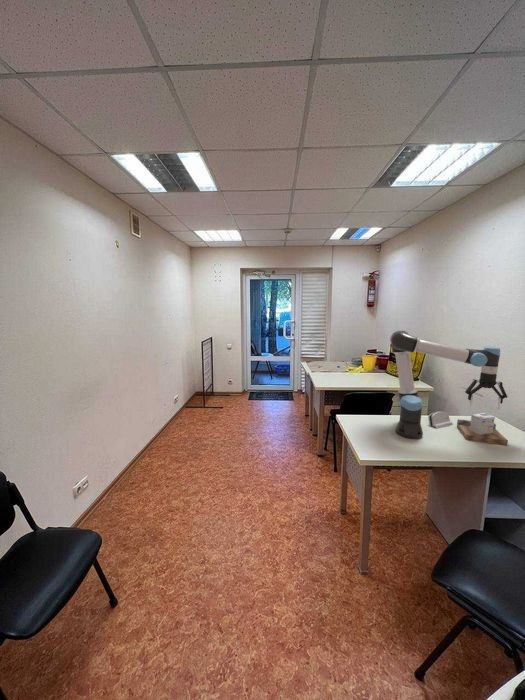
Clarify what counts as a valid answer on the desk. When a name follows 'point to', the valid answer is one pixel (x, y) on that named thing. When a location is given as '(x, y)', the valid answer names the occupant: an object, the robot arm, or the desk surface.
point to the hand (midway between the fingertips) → (483, 406)
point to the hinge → (439, 419)
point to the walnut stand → (488, 438)
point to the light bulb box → (482, 423)
